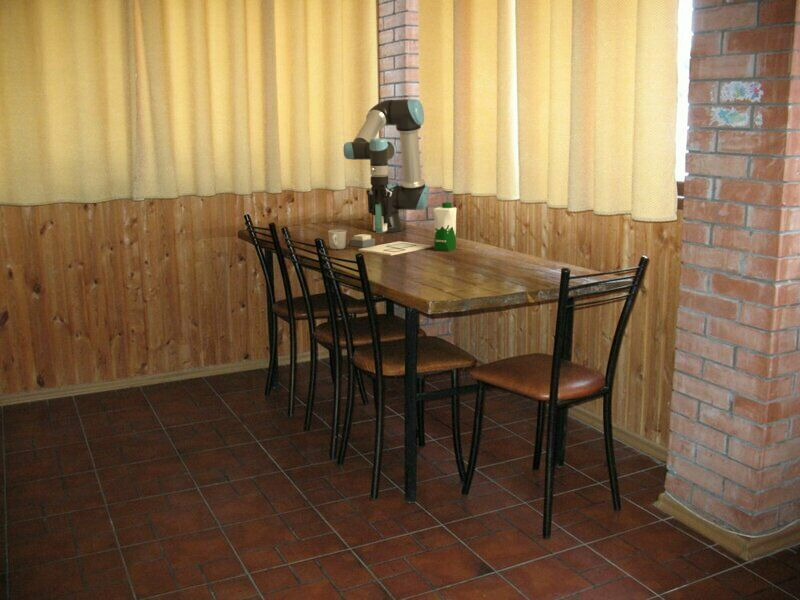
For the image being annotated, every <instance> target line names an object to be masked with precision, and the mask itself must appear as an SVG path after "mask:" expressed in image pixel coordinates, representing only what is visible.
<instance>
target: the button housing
mask: <svg viewBox="0 0 800 600" xmlns="http://www.w3.org/2000/svg"><path fill="white" fill-rule="evenodd" d="M349 246H350V247H356V248H367V247H372V246H376V238H373V237H371V239H367V240H356V239H354V237H353V238H350V239H349Z"/></svg>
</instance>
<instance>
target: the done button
mask: <svg viewBox="0 0 800 600" xmlns="http://www.w3.org/2000/svg"><path fill="white" fill-rule="evenodd" d="M353 238H354V239H356V240H367V239H371V238H372V235H371V234H363V233H361V234H355V235H353Z"/></svg>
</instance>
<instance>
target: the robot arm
mask: <svg viewBox="0 0 800 600" xmlns="http://www.w3.org/2000/svg"><path fill="white" fill-rule="evenodd" d="M424 123H425V110H424V107H423V104H422V103H421V101H420V100H419V99H412V98H406V99H402V98H401V99H386V100H382V101H380V102H378V103H376V104H375V105H374V106H373V107H371V109H370V110H368V112H367V114H366V116H365V121H364V122H363V124H362V127H360V130H359V131H358V133H357V134H356V136H355V137H354V139H353V141H347V142H345V143H344V145H343V157H344V158H345V159H347V160H353V161H355V160H358V161H359V160H369V162H370V164H369V165H370V167H369V169H370V178H369V179H370V185H371V188H370V189H367V190H366V191H365V192H366V195H367V205H368V206H367V210H368V213H369V214H371V216H372V219H371V220H372V223H373V224H372V226H371V230H372V232H375V233H377V232H376V214H375V204H381V207H382V213H383V215H382V216H381V223H382V231H386V232H385V233H397V232H402V231H404V230H403V229H404V228H403V224H402V220H401V217H400V210H403V211H404V210H405V211H421V210H422V211H423V210H425V209H426V208H427V206H428V202H429V197H430V187H429V186H428V185H426V181H425V180H424V179H422V171H421V169H422V168H421V166H422V165H421V157H420V156H421V154H420V141H419V131H420V130H421V128H422V125H424ZM385 126H395V128H396V131H397V132H398V133H399V137H400V151H401V161H402V162H401V163H402V175H403V180H402V181H401V183H400V184H399V182H389V176H388V175H389V160H391V159H393V158H394V157H395V156H396V154H397V148H396V145H395V144H394V143H393V142H391V141H388V139H387V138H385V137H383V138H379V137H378V138H377V135H378V134H379V132H380V130H381V129H383V128H384V127H385Z"/></svg>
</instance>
